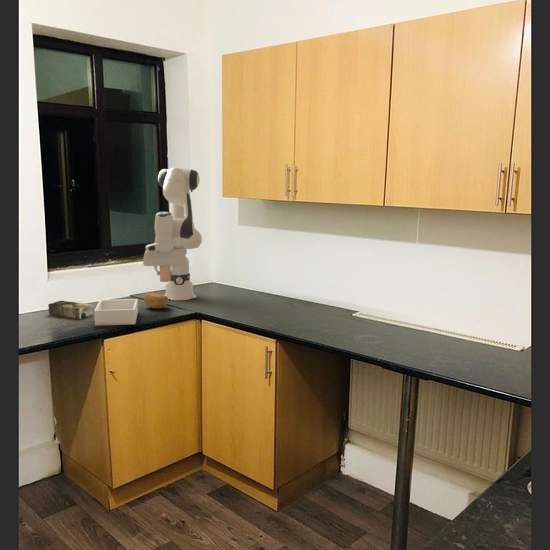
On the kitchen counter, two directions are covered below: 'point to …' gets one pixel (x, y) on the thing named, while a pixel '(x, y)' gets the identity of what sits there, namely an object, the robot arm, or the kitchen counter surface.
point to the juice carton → (70, 309)
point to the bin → (116, 312)
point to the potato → (155, 300)
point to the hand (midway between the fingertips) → (165, 274)
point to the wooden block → (164, 273)
